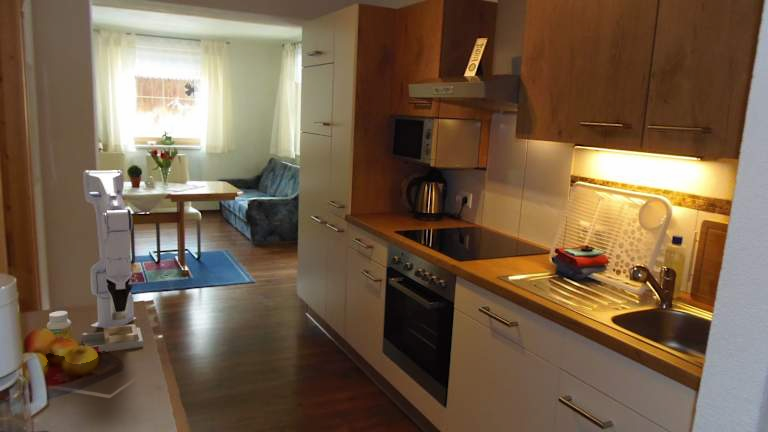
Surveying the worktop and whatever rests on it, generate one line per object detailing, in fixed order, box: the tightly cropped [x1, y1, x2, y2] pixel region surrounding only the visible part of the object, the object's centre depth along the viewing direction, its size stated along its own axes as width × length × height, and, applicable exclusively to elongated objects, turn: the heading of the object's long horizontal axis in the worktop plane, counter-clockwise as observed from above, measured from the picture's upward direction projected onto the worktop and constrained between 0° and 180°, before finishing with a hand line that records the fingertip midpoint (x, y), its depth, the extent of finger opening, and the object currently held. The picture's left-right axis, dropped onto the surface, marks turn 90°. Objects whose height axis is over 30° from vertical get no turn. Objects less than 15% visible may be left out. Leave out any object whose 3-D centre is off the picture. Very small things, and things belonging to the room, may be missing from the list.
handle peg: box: [110, 294, 128, 320], centre depth 143 cm, size 4×4×7 cm
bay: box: [82, 327, 144, 353], centre depth 144 cm, size 14×10×2 cm
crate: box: [103, 323, 138, 344], centre depth 145 cm, size 8×8×3 cm
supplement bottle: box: [46, 310, 73, 340], centre depth 139 cm, size 5×5×10 cm
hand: (119, 308), depth 143 cm, fingers closed on handle peg, 4 cm apart
